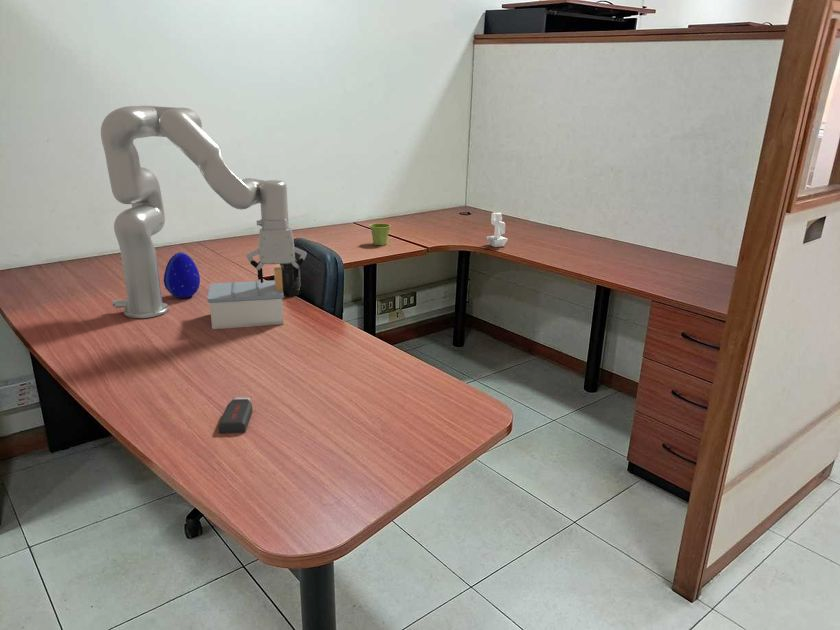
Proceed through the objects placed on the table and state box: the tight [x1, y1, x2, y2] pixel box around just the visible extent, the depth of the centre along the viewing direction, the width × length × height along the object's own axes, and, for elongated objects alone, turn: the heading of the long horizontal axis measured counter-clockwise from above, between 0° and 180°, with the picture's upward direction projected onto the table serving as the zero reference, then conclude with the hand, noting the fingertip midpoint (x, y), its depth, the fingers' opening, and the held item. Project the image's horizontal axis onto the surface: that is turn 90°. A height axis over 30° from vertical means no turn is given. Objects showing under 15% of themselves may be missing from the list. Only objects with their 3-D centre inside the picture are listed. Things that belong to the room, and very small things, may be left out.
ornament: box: [163, 251, 201, 299], centre depth 201 cm, size 11×9×15 cm
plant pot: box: [369, 222, 391, 247], centre depth 278 cm, size 9×9×9 cm
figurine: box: [486, 212, 509, 248], centre depth 280 cm, size 7×9×15 cm
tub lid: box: [206, 264, 285, 303], centre depth 182 cm, size 21×15×7 cm
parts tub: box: [209, 298, 284, 330], centre depth 185 cm, size 20×14×8 cm
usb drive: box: [218, 397, 253, 434], centre depth 130 cm, size 5×12×3 cm, turn 5°
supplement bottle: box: [281, 258, 301, 297], centre depth 207 cm, size 7×7×12 cm
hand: (278, 280), depth 185 cm, fingers open, 9 cm apart
